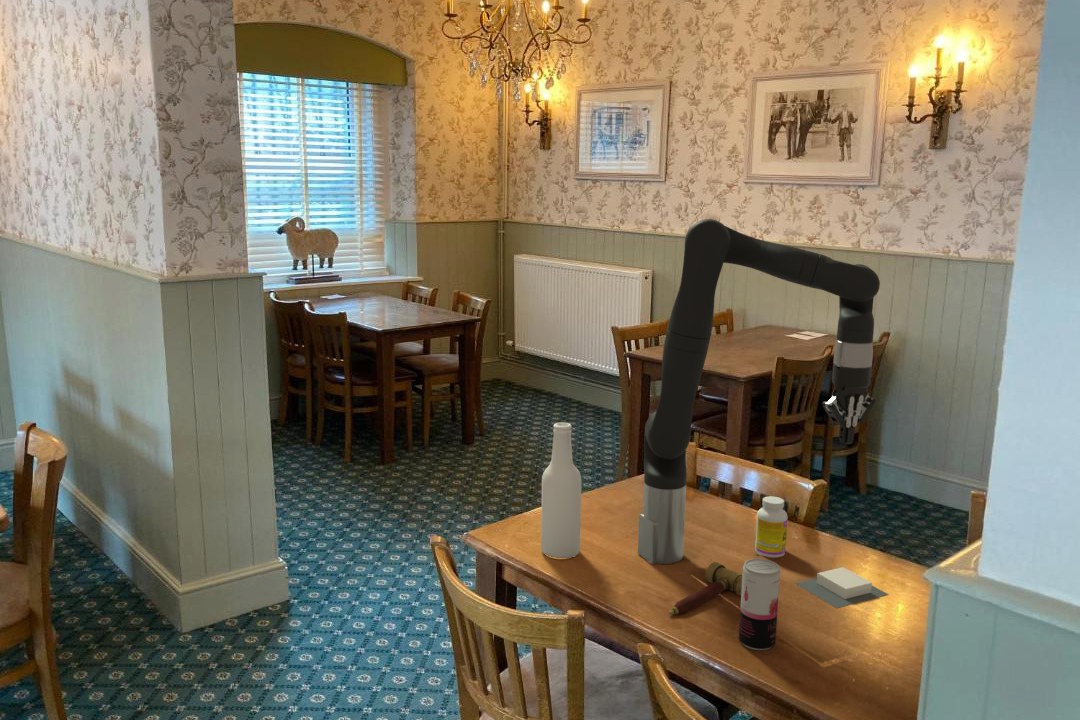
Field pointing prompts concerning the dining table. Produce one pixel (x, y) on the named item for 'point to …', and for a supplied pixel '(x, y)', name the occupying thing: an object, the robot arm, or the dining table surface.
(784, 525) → the supplement bottle
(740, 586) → the gavel
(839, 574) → the tile
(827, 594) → the mat
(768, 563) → the beverage can
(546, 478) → the alcohol
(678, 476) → the robot arm
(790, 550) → the dining table surface
